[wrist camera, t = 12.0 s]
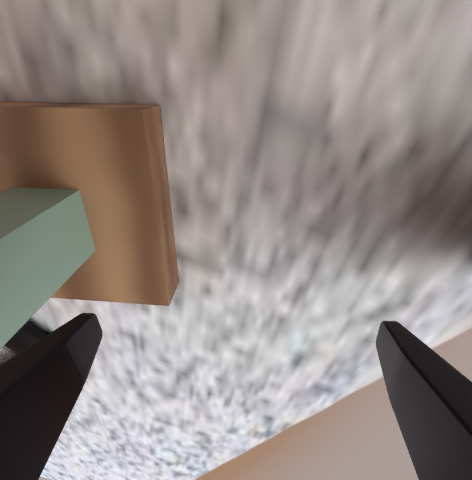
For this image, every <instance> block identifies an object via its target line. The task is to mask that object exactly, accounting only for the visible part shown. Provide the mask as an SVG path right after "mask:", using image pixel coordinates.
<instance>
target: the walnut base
mask: <svg viewBox="0 0 472 480" xmlns="http://www.w3.org/2000/svg"><path fill="white" fill-rule="evenodd" d="M12 187H19V188H44V189H68V190H80V194H81V198H82V202H83V205H84V209H85V213H86V216H87V220H88V224H89V227H90V231H91V235H92V239H93V242H94V246H95V250H96V251H95V252H94V253H93V254H92V255H91V256H90V257H89V258H88V259H87V260H86V261H85V262H84V263H83V264H82V265H81V266H80V267H79V268H78V269H77V270H76V271H75V272H74V273H73V274H72V275H71V277H70V278H69V279H68V280H67V281H66V282H65V283H64V284H63V285H62V286H61V287H60V288H59V289H58V290H57V291H56V292H55V293H54V294H53V295H52V296H51V297H52V298H66V299H80V300H94V301H108V302H122V303H136V304H150V305H164V306H169V305H170V302H171V300H172V298H173V295H174V293H175V290H176V288H177V286H178V283H179V278H178V268H177V259H176V250H175V241H174V231H173V222H172V213H171V203H170V194H169V185H168V176H167V166H166V157H165V148H164V139H163V129H162V120H161V111H160V105H132V104H85V103H39V102H0V193H1V192H3V191H5V190H7V189H10V188H12Z"/></svg>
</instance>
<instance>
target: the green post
mask: <svg viewBox="0 0 472 480" xmlns="http://www.w3.org/2000/svg"><path fill="white" fill-rule="evenodd" d="M95 251H96V250H95V246H94V242H93V239H92V235H91V231H90V227H89V224H88V220H87V216H86V213H85V209H84V205H83V202H82V198H81V194H80V190H68V189H44V188H19V187H12V188H10V189H7V190H5V191H3V192H1V193H0V349H1V348H2V347H3V346H4V345H5V344H6V343H7V342H8V341H9V340H10V339H11V338H12V336H13V335H14V334H15V333H16V332H17V331H18V330H19V329H20V328H21V327H22V326H23V325H24V324H25V323H26V322H27V321H28V320H29V319H30V318H31V317H32V316H33V315H34V314H35V313H36V312H37V311H38V310H39V309H40V308H41V306H42V305H43V304H44V303H45V302H46V301H47V300H48V299H49V298H50V297H51V296H52V295H53V294H54V293H55V292H56V291H57V290H58V289H59V288H60V287H61V286H62V285H63V284H64V283H65V282H66V281H67V280H68V279H69V278H70V277H71V275H72V274H73V273H74V272H75V271H76V270H77V269H78V268H79V267H80V266H81V265H82V264H83V263H84V262H85V261H86V260H87V259H88V258H89V257H90V256H91V255H92V254H93V253H94V252H95Z"/></svg>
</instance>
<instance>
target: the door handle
mask: <svg viewBox="0 0 472 480" xmlns="http://www.w3.org/2000/svg"><path fill="white" fill-rule="evenodd" d="M47 335H48V334H46V333H44V332H43V331H42V330H40V329H39V328H38V327H36V326H35V325H33V324H32V323H31V322H29V321H27V322H26V323H25V324H24V325H23V326H22V327H21V328H20V329H19V330H18V331H17V332H16V333H15V334H14V335H13V336H12V338H11V339H10V340H9V341H8V342H7V343H6V344H5V345H4V346H3V347H2V348H3V349H6V350H9V351H12V352H14V353H16V354H19V353H20V352H22V351H23V350H25V349H26V348H28V347H30V346H31V345H33V344H34V343H36V342H37V341H39V340H41V339H42V338H44V337H45V336H47Z"/></svg>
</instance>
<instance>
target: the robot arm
mask: <svg viewBox="0 0 472 480" xmlns="http://www.w3.org/2000/svg"><path fill="white" fill-rule="evenodd" d="M101 339H102V329H101V326H100V324H99V321H98V319H97V316H96V315H95V314H93V313H82V314H80V315H78V316H76V317H75V318H73V319H72V320H70V321H69V322H67V323H66V324H64V325H62V326H61V327H59V328H58V329H56V330H55V331H53V332H51V333H50V334H48V335H47V336H45V337H44V338H42V339H41V340H39V341H37V342H36V343H34V344H33V345H31V346H30V347H28V348H26V349H25V350H23V351H22V352H20V353H19V354H17V355H16V356H14V357H12V358H11V359H9V360H8V361H6V362H5V363H3V364H2V365H0V480H38V479H39V477H40V475H41V473H42V471H43V469H44V467H45V465H46V463H47V461H48V458H49V456H50V454H51V452H52V450H53V448H54V446H55V444H56V442H57V440H58V438H59V436H60V434H61V432H62V430H63V428H64V426H65V423H66V421H67V419H68V417H69V415H70V413H71V411H72V409H73V407H74V405H75V403H76V401H77V399H78V397H79V395H80V393H81V391H82V388H83V386H84V384H85V382H86V379H87V377H88V374H89V371H90V369H91V366H92V363H93V361H94V358H95V355H96V353H97V350H98V347H99V345H100V342H101ZM376 348H377V352H378V356H379V360H380V364H381V368H382V372H383V376H384V380H385V384H386V387H387V391H388V395H389V399H390V402H391V405H392V408H393V411H394V413H395V416H396V419H397V421H398V424H399V427H400V430H401V432H402V435H403V438H404V440H405V443H406V446H407V449H408V451H409V454H410V457H411V459H412V462H413V465H414V468H415V470H416V473H417V476H418V478H419V480H472V382H471V381H470V380H469V379H467V378H466V377H465V376H464V375H462V374H461V373H460V372H459V371H458V370H456V369H455V368H454V367H453V366H451V365H450V364H449V363H448V362H446V361H445V360H444V359H443V358H442V357H440V356H439V355H438V354H437V353H435V352H434V351H433V350H432V349H431V348H429V347H428V346H427V345H426V344H424V343H423V342H422V341H421V340H419V339H418V338H417V337H416V336H415V335H413V334H412V333H411V332H410V331H408V330H407V329H406V328H405V327H404V326H402V325H401V324H400V323H398V322H396V321H382V322H381V324H380V327H379V331H378V335H377V339H376Z"/></svg>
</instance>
